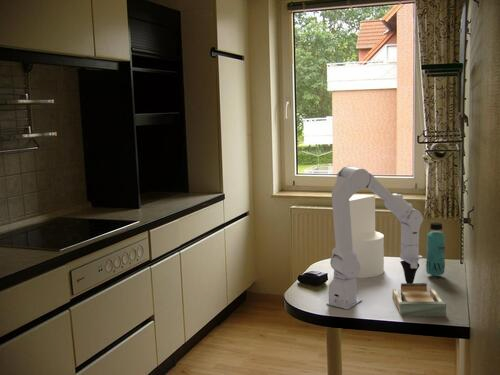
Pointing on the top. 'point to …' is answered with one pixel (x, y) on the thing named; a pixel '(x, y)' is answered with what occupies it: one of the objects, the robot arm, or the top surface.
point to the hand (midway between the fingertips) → (409, 282)
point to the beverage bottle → (435, 250)
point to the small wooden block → (415, 292)
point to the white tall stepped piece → (366, 236)
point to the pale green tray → (420, 306)
